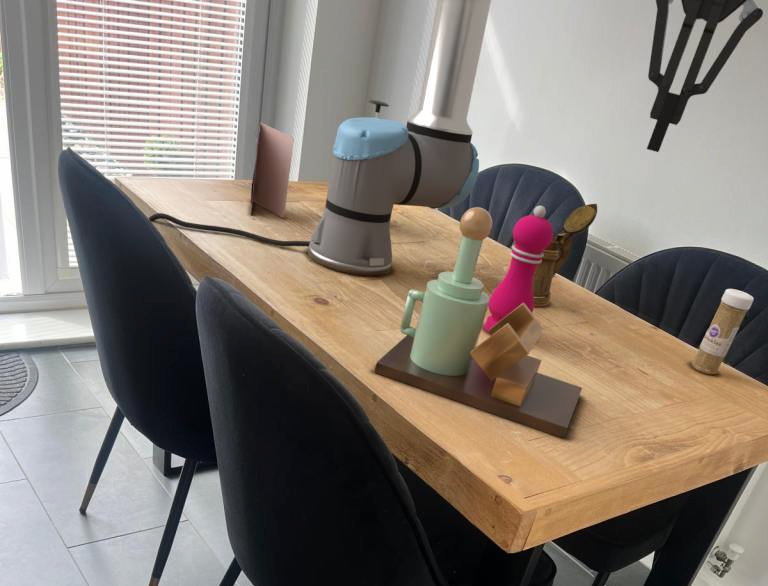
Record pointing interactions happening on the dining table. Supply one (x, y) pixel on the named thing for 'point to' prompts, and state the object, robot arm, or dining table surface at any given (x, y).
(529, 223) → the pepper mill
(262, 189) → the greeting card
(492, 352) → the oak rest
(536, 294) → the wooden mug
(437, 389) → the walnut board
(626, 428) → the dining table surface
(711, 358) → the sprinkles bottle
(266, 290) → the dining table surface
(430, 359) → the jug
